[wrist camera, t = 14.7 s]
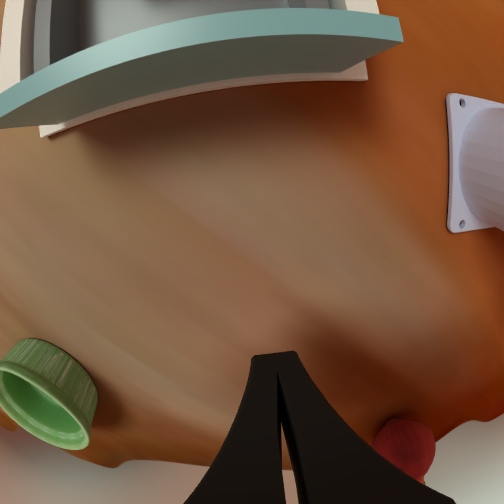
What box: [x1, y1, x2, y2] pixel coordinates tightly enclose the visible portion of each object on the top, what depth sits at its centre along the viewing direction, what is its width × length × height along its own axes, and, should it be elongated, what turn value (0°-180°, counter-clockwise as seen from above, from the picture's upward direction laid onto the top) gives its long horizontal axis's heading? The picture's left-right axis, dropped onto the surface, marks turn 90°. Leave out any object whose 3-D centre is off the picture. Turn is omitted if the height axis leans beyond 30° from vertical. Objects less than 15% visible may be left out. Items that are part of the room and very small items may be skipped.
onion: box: [371, 418, 435, 485], centre depth 18 cm, size 6×6×8 cm
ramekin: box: [0, 338, 98, 450], centre depth 16 cm, size 9×9×4 cm
